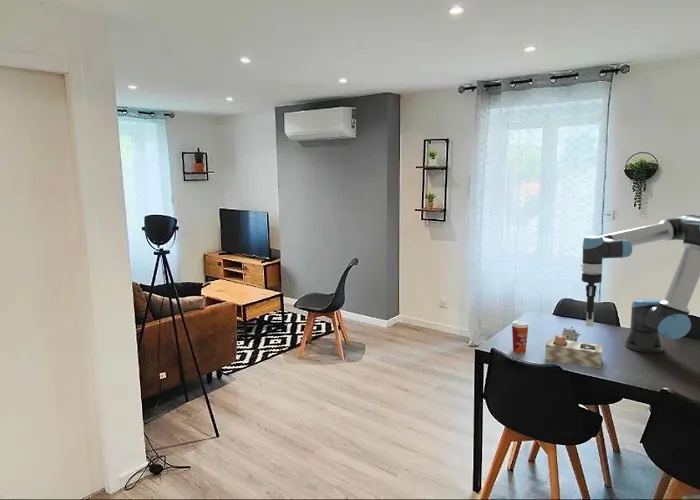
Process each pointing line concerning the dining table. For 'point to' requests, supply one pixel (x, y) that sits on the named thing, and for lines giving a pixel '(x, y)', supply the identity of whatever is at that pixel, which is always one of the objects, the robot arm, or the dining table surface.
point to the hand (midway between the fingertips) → (589, 325)
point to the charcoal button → (587, 347)
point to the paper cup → (519, 336)
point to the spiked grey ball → (570, 334)
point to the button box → (574, 353)
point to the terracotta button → (560, 340)
